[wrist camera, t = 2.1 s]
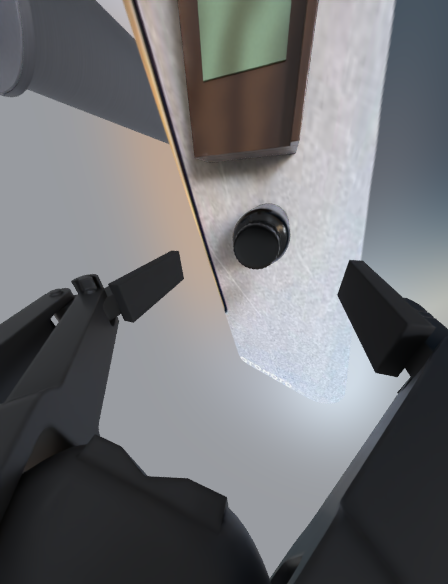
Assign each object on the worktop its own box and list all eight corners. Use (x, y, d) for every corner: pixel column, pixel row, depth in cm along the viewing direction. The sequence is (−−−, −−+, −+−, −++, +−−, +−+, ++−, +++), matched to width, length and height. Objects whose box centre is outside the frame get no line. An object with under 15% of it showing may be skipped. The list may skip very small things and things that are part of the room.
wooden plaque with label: (209, 162, 25) (186, 155, 19) (188, -121, 15) (128, -314, 9) (295, 153, 22) (299, 140, 16) (345, -221, 11) (404, -625, 6)
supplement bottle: (298, 225, 26) (307, 247, 16) (265, 256, 29) (255, 289, 20) (267, 192, 25) (255, 194, 15) (237, 228, 29) (211, 248, 19)
